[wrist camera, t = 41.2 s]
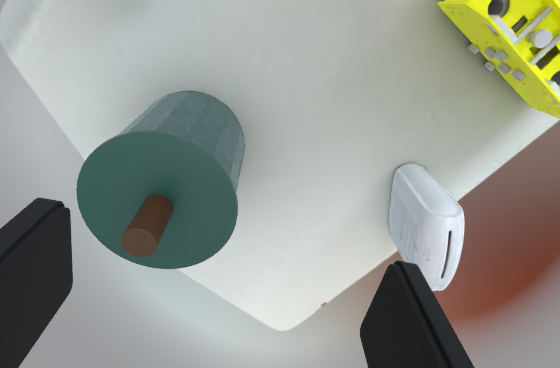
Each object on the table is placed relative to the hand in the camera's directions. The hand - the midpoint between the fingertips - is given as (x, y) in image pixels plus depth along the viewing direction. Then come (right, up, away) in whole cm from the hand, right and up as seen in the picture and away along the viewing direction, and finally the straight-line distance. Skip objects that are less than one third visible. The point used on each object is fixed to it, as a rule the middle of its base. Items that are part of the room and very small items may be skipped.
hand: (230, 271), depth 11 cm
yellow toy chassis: (+24, +18, +27) cm, 40 cm away
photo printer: (+17, +1, +35) cm, 39 cm away
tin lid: (-8, +1, +19) cm, 20 cm away
